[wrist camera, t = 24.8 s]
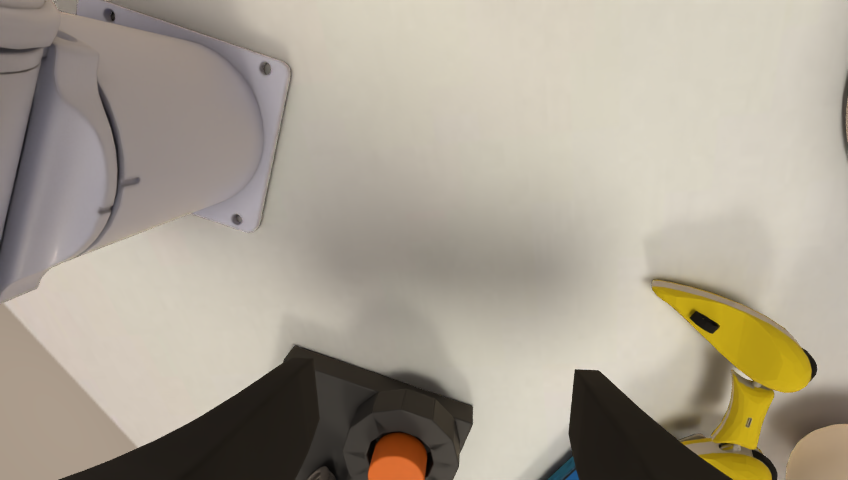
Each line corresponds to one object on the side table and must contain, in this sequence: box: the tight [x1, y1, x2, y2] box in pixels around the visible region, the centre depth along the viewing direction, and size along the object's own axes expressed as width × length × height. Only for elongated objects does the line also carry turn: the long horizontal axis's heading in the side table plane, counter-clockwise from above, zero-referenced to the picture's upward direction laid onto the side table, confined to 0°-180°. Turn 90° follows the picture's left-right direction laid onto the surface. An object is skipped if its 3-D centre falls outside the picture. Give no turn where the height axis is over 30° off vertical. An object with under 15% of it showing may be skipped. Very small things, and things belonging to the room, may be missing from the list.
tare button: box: [368, 432, 427, 480], centre depth 20 cm, size 3×3×2 cm
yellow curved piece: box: [652, 280, 817, 480], centre depth 20 cm, size 10×4×10 cm
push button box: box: [283, 346, 473, 480], centre depth 23 cm, size 10×10×3 cm
